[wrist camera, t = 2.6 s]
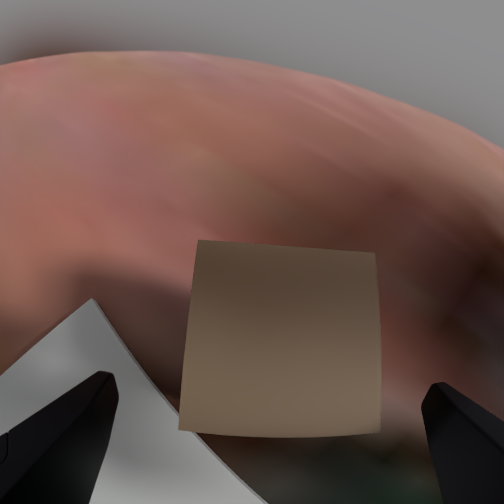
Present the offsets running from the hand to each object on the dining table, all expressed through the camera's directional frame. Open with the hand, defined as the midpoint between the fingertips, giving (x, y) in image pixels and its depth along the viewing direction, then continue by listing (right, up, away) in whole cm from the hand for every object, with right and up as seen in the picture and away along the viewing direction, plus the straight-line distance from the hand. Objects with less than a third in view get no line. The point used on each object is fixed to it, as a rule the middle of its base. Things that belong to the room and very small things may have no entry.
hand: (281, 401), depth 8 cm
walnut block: (0, -2, +9) cm, 9 cm away
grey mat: (-11, -9, +5) cm, 15 cm away
